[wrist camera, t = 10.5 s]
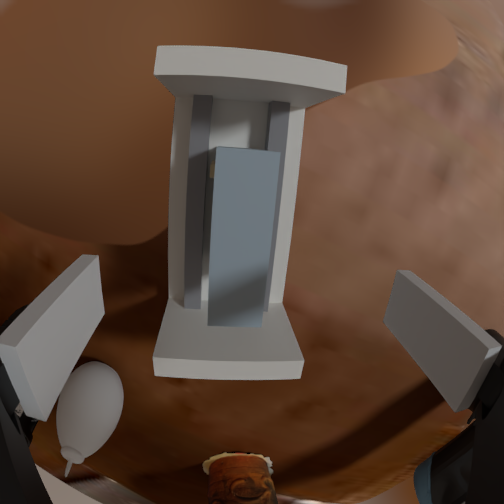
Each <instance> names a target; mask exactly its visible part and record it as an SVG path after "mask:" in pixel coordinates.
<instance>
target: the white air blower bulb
mask: <svg viewBox="0 0 504 504" xmlns="http://www.w3.org/2000/svg"><path fill="white" fill-rule="evenodd" d="M123 399H124V394H123V387H122V383H121V380H120V378H119V375H118V374H117V372H116V371H115V370H114V369H112V368H111V367H110V366H108V365H106V364H104V363H101V362H97V361H91V362H88V363H85V364H83V365H81V366H80V367H78V368H77V369H76V370H75V371H74V372H73V373H72V374H71V375H70V376H69V377H68V379H67V381H66V383H65V385H64V387H63V389H62V391H61V393H60V396H59V400H58V406H57V415H56V424H57V433H58V437H59V441H60V444H61V446H62V449H61V454H62V456H63V457H64V458H65V459H67V460H68V463H67V467H66V471H65V477H67V475H68V473H69V470H70V468H71V465H72V463H76V464H80V463H82V462H83V461H84V458H85V457H88V456H90V455H92V454H93V453H95V452H96V451H97V450H98V449H99V448H100V447H101V446H102V445H103V444H104V443H105V442H106V441H107V440H108V438H109V437H110V436H111V434H112V433H113V431H114V429H115V427H116V425H117V423H118V421H119V418H120V415H121V412H122V408H123Z"/></svg>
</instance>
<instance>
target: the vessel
mask: <svg viewBox="0 0 504 504" xmlns="http://www.w3.org/2000/svg"><path fill="white" fill-rule="evenodd" d="M272 463H273V462H271V461H270V457H265V458H264V457H263V455H254V454H252V453H251V454H245V453H234V454H233V453H227V452H224V453H223V454H220V455H216V456H213V457H210V460H206V461H205V462H204V463H203V464H202V465H203V470H204V472H206V474H207V475H209V483H208V494H207V496H208V499H209V504H278V501H277V497H276V493H275V488H274V485H273V481H272V479H271V477H270V476H271V475H272V473H273V470H272V469H271V468H269V467H271V466H272V465H271V464H272Z"/></svg>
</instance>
